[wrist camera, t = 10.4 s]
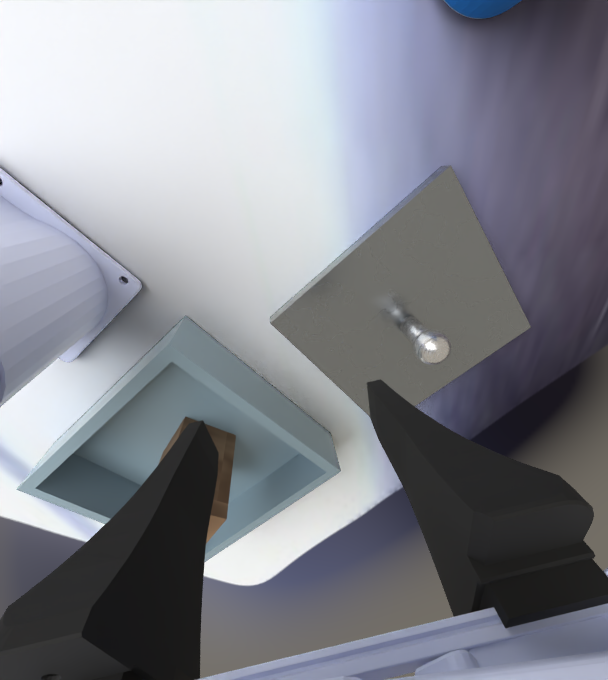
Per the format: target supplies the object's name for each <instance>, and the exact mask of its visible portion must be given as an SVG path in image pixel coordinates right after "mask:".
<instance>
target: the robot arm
mask: <svg viewBox="0 0 608 680" xmlns="http://www.w3.org/2000/svg"><path fill="white" fill-rule="evenodd" d="M0 178H1V179H2V182H3V184H2V185H0V407H1V406H2V405H3V404H4V403H5V402H6V401H8V400H9V399H10V398H11V397H12V396H14V395H15V394H16V393H17V392H18V391H19V390H21V389H22V388H23V387H24V386H25V385H27V384H28V383H29V382H30V381H31V380H32V379H34V378H35V377H36V376H37V375H38V374H40V373H41V372H42V371H43V370H44V369H46V368H47V367H48V366H49V365H50V364H51V363H53V362H54V361H55V360H56V359H57V358H59V359H61V360H62V361H65V362H72V361H73V360H75V359H76V358H77V357H78V356H79V355H80V353H81V352H82V351H83V350H84V349H85V348H86V347H87V346H88V345H89V344H90V343H91V342H92V341H93V340H94V339H95V338H96V337H97V336H98V334H99V333H100V332H101V331H102V330H103V329H104V328H105V327H106V326H107V325H108V324H109V323H110V322H111V321H112V320H113V319H114V318H115V317H116V315H117V314H118V313H119V312H120V311H121V310H122V309H123V308H124V307H125V306H126V305H127V304H128V303H129V302H130V301H131V300H132V299H133V298H134V296H135V295H136V294H137V293H138V292H139V291H140V290H141V288H142V284H141V282H140V281H139V280H138V279H137V278H136V277H135V276H133V275H132V274H131V273H130V272H128V271H127V270H126V269H125V268H124V267H122V266H121V265H120V264H119V263H117V262H116V261H115V260H114V259H112V258H111V257H110V256H109V255H107V254H106V253H105V252H104V251H103V250H101V249H100V248H99V247H98V246H96V245H95V244H94V243H93V242H91V241H90V240H89V239H88V238H86V237H85V236H84V235H83V234H81V233H80V232H79V231H78V230H77V229H75V228H74V227H73V226H72V225H70V224H69V223H68V222H67V221H65V220H64V219H63V218H62V217H60V216H59V215H58V214H57V213H56V212H54V211H53V210H52V209H51V208H49V207H48V206H47V205H46V204H44V203H43V202H42V201H41V200H39V199H38V198H37V197H36V196H35V195H33V194H32V193H31V192H30V191H28V190H27V189H26V188H25V187H23V186H22V185H21V184H20V183H18V182H17V181H16V180H15V179H13V178H12V177H11V176H10V175H9V174H7V173H6V172H5V171H4V170H2V169H1V168H0ZM122 276H124V277H126V278H127V279H128V283H125V282H123V280H122V278H121V277H122ZM367 391H368V400H369V409H370V418H371V420H372V423H373V426H374V428H375V431H376V434H377V436H378V439H379V441H380V443H381V445H382V447H383V449H384V450H385V452H386V454H387V456H388V458H389V460H390V462H391V464H392V466H393V468H394V470H395V472H396V474H397V475H398V477H399V479H400V481H401V483H402V485H403V487H404V489H405V491H406V494H407V496H408V498H409V500H410V503H411V505H412V508H413V510H414V513H415V515H416V518H417V520H418V523H419V525H420V528H421V530H422V533H423V535H424V538H425V540H426V543H427V545H428V548H429V551H430V553H431V556H432V559H433V561H434V564H435V567H436V569H437V572H438V574H439V577H440V580H441V583H442V585H443V588H444V591H445V594H446V596H447V599H448V602H449V605H450V607H451V610H452V612H453V616H454V617H451V618H448V619H443V620H439V621H435V622H431V623H426V624H422V625H418V626H414V627H410V628H406V629H402V630H398V631H394V632H390V633H386V634H382V635H378V636H374V637H369V638H365V639H361V640H357V641H353V642H349V643H345V644H340V645H336V646H332V647H329V648H324V649H320V650H316V651H312V652H307V653H304V654H299V655H295V656H291V657H287V658H283V659H279V660H275V661H271V662H266V663H262V664H258V665H254V666H250V667H246V668H242V669H238V670H234V671H230V672H225V673H221V674H217V675H213V676H209V677H205V678H201V679H200V633H201V607H202V588H203V573H204V561H205V549H206V540H207V533H208V527H209V521H210V516H211V510H212V505H213V499H214V494H215V488H216V482H217V476H218V457H219V452H218V450H217V448H216V446H215V444H214V442H213V440H212V438H211V436H210V434H209V432H208V430H207V428H206V426H205V423H204V421H203V420H202V421H197V422H193V423H189V424H188V425H187V427H186V428H185V429H184V431H183V432H182V433H181V435H180V436H179V437H178V439H177V440H176V442H175V443H174V444H173V446H172V447H171V449H170V450H169V451H168V453H167V454H166V455H165V457H164V458H163V459H162V461H161V462H160V463H159V465H158V466H157V467H156V468H155V470H154V471H153V472H152V473H151V475H150V476H149V477H148V478H147V479H146V481H145V482H144V483H143V484H142V486H141V487H140V488H139V489H138V490H137V492H136V493H135V494H134V495H133V496H132V497H131V498H130V499H129V501H128V502H127V503H126V504H125V505H124V506H123V507H122V508H121V509H120V510H119V511H118V512H117V513H116V514H115V515H114V516H113V517H112V518H111V519H110V520H109V521H108V522H107V523H106V524H105V525H104V526H103V527H102V528H101V529H100V530H99V531H98V532H97V533H96V534H95V535H94V536H93V537H92V538H91V539H90V540H89V541H88V542H86V543H85V544H84V545H83V546H82V547H81V548H80V549H79V550H78V551H76V552H75V553H74V554H73V555H72V556H71V557H70V558H68V559H67V560H66V561H65V562H64V563H63V564H61V565H60V566H59V567H58V568H57V569H56V570H54V571H53V572H52V573H51V574H50V575H48V576H47V577H46V578H44V579H43V580H42V581H41V582H40V583H38V584H37V585H36V586H34V587H33V588H32V589H30V590H29V591H28V592H27V593H25V594H24V595H23V596H21V598H19V599H18V600H16V601H15V602H14V603H12V604H11V605H10V606H8V608H7V609H6V611H5V613H4V615H3V616H2V618H1V619H0V680H384V679H388V678H392V677H396V676H400V675H404V674H408V673H412V672H415V676H411V677H403V678H395V679H388V680H608V568H606V569H605V570H604V571H602V570H601V569H600V567H599V566H598V565H597V564H596V563H595V562H594V560H593V559H592V558H594V557H595V555H594V552H593V551H592V550H591V549H590V548H589V546H588V545H586V543H585V542H584V541H583V539H584V537H585V535H586V533H587V531H588V530H589V528H590V526H591V524H592V521H593V517H594V512H593V508H592V506H591V505H589V503H587V502H586V501H585V500H584V499H583V498H582V497H581V496H580V495H579V493H577V491H576V490H575V489H574V488H572V487H571V486H570V485H569V484H568V483H567V482H566V481H565V480H563V479H562V478H561V477H560V476H559V475H556V474H553V473H550V472H547V471H544V470H541V469H538V468H535V467H532V466H529V465H527V464H523V463H521V462H518V461H516V460H513V459H511V458H508V457H506V456H503V455H501V454H498V453H496V452H494V451H491V450H489V449H487V448H485V447H483V446H481V445H478V444H476V443H474V442H472V441H470V440H468V439H466V438H464V437H462V436H460V435H458V434H457V433H455V432H453V431H451V430H449V429H448V428H446V427H444V426H443V425H441V424H439V423H438V422H436V421H435V420H433V419H432V418H430V417H429V416H427V415H426V414H424V413H423V412H421V411H420V410H419V409H417V408H416V407H415V406H413V405H412V404H411V403H409V402H408V401H407V400H405V399H404V398H403V397H401V396H400V395H399V394H398V393H396V392H395V391H394V390H393V389H392V388H391V387H389V386H388V385H387V384H386V383H385V382H384V381H382V380H381V379H380V380H376V381H371V382H367Z"/></svg>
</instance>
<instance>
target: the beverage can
mask: <svg viewBox="0 0 608 680" xmlns="http://www.w3.org/2000/svg"><path fill="white" fill-rule="evenodd" d="M444 1H445V2H446V3H447V4H448V5H449V6H450V7H451V8H452V9H453V10H454V11H456V12H457V13H459V14H461V15H463V16H465V17H469V18H474V19H484V18H490V17H493V16H496V15H499V14H501V13H503V12H505V11H507V10H509V9H510V8H512V7H513V6H515V5H516V4H517V3H519V2H520V1H522V0H444Z"/></svg>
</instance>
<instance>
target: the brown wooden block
mask: <svg viewBox="0 0 608 680" xmlns="http://www.w3.org/2000/svg"><path fill="white" fill-rule="evenodd" d="M193 422H197V421H196V420H194V419H191V418H188V417H185V418H184V419H183V421H182V423H181V424H180V426H179V427H178V429H177V431H176V432H175V434H174V435H173V437H172V439H171V440H170V442H169V443H168V445H167V447H166V448H165V450H164V451H163V453H162V456H161V459H160V461H159V463H160V462H161V461H162V459H163V458H164V457H165V455H166V454H167V453H168V451H169V450H170V449H171V447H172V446H173V444H174V443H175V442H176V440H177V439H178V437H179V436H180V435H181V433H182V432H183V431H184V429H185V428H186V427H187V425H188V424H189V423H193ZM205 426H206V428H207V430H208V432H209V434H210V436H211V438H212V440H213V442H214V444H215V446H216V448H217V450H218V452H219V457H218V476H217V482H216V488H215V494H214V499H213V505H212V510H211V516H210V521H209V527H208V533H207V540H206V543H207V542H208V541H209V540H210V539H211V537H212V536H213V535H214V534H215V533H216V531H217V530H218V529H219V528H220V527H221V525H222V524H223V523H224V522H225V521H226V519H227V512H228V503H229V494H230V485H231V476H232V467H233V459H234V450H235V441H236V435H234V434H231V433H229V432H226V431H223V430H220V429H218V428H215V427H212V426H210V425H207V424H205ZM158 465H159V464H158Z"/></svg>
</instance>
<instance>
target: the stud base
mask: <svg viewBox="0 0 608 680" xmlns="http://www.w3.org/2000/svg"><path fill="white" fill-rule="evenodd" d="M270 323H271V324H272V325H273V326H274V327H275V328H276V329H277V330H278V331H279V332H280V333H282V334H283V335H284V336H285V337H286V338H287V339H288V340H289V341H290V342H291V343H292V344H293V345H294V346H295V347H296V348H297V349H299V350H300V351H301V352H302V353H303V354H304V355H305V356H306V357H307V358H308V359H309V360H310V361H311V362H312V363H313V364H315V365H316V366H317V367H318V368H319V369H320V370H321V371H322V372H323V373H324V374H325V375H326V376H327V377H328V378H329V379H330V380H332V381H333V382H334V383H335V384H336V385H337V386H338V387H339V388H340V389H341V390H342V391H343V392H344V393H345V394H346V395H348V396H349V397H350V398H351V399H352V400H353V401H354V402H355V403H356V404H357V405H358V406H359V407H360V408H361V409H362V410H363V411H365V412H366V413H367V414H368V415H369V416H370V409H369V400H368V391H367V382H371V381H376V380H380V379H381V380H382V381H384V382H385V383H386V384H387V385H388V386H389V387H391V388H392V389H393V390H394V391H395V392H396V393H398V394H399V395H400V396H401V397H403V398H404V399H405V400H407V401H408V402H409V403H411V404H412V405H413V406H416V405H417V404H419V403H420V402H422V401H423V400H425V399H426V398H428V397H429V396H431V395H432V394H433V393H435V392H436V391H438V390H439V389H441V388H442V387H444V386H445V385H447V384H448V383H450V382H451V381H453V380H454V379H455V378H457V377H458V376H460V375H461V374H463V373H464V372H466V371H467V370H469V369H470V368H472V367H473V366H475V365H476V364H478V363H479V362H480V361H482V360H483V359H485V358H486V357H488V356H489V355H491V354H492V353H494V352H495V351H497V350H498V349H500V348H501V347H503V346H504V345H505V344H507V343H508V342H510V341H511V340H513V339H514V338H516V337H517V336H519V335H520V334H522V333H523V332H525V331H526V330H528V329H529V328H530V327H531V326H530V324H529V322H528V320H527V318H526V316H525V314H524V312H523V310H522V308H521V306H520V304H519V302H518V300H517V298H516V296H515V294H514V292H513V290H512V288H511V286H510V284H509V282H508V280H507V278H506V276H505V274H504V272H503V270H502V268H501V266H500V264H499V262H498V260H497V258H496V256H495V254H494V252H493V250H492V248H491V246H490V244H489V242H488V240H487V238H486V236H485V234H484V231H483V229H482V227H481V225H480V223H479V221H478V219H477V217H476V215H475V213H474V211H473V209H472V207H471V205H470V203H469V201H468V199H467V197H466V195H465V193H464V191H463V189H462V187H461V185H460V183H459V181H458V179H457V177H456V175H455V173H454V171H453V169H452V167H451V165H450V166H441V167H440V168H439V169H438V170H437V171H436V172H434V173H433V174H432V175H431V176H430V177H429V178H428V179H426V180H425V181H424V182H423V183H422V184H421V185H420V186H418V187H417V188H416V189H415V190H414V191H413V192H412V193H411V194H409V195H408V196H407V197H406V198H405V199H404V200H403V201H401V202H400V203H399V204H398V205H397V206H396V207H395V208H394V209H392V210H391V211H390V212H389V213H388V214H387V215H386V216H384V217H383V218H382V219H381V220H380V221H379V222H378V223H376V224H375V225H374V226H373V227H372V228H371V229H370V230H369V231H367V232H366V233H365V234H364V235H363V236H362V237H361V238H359V239H358V240H357V241H356V242H355V243H354V244H353V245H352V246H350V247H349V248H348V249H347V250H346V251H345V252H344V253H342V254H341V255H340V256H339V257H338V258H337V259H336V260H334V261H333V262H332V263H331V264H330V265H329V266H328V267H327V268H325V269H324V270H323V271H322V272H321V273H320V274H319V275H317V276H316V277H315V278H314V279H313V280H312V281H311V282H309V283H308V284H307V285H306V286H305V287H304V288H303V289H302V290H300V291H299V292H298V293H297V294H296V295H295V296H294V297H292V298H291V299H290V300H289V301H288V302H287V303H286V304H285V305H283V306H282V307H281V308H280V309H279V310H278V311H277V312H275V313H274V314H273V315H272V316H271V317H270Z"/></svg>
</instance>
